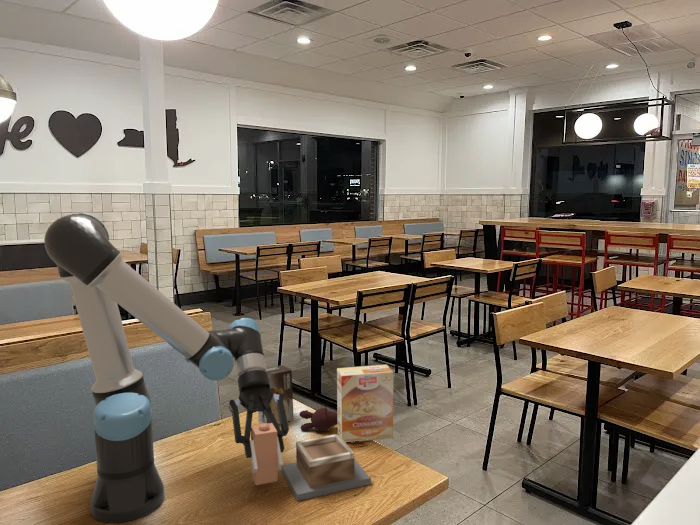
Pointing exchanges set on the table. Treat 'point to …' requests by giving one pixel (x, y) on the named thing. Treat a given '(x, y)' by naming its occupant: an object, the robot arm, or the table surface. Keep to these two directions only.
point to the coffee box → (280, 391)
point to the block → (265, 453)
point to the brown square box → (325, 460)
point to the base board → (305, 492)
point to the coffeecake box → (365, 403)
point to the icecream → (319, 419)
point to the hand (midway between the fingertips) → (267, 468)
